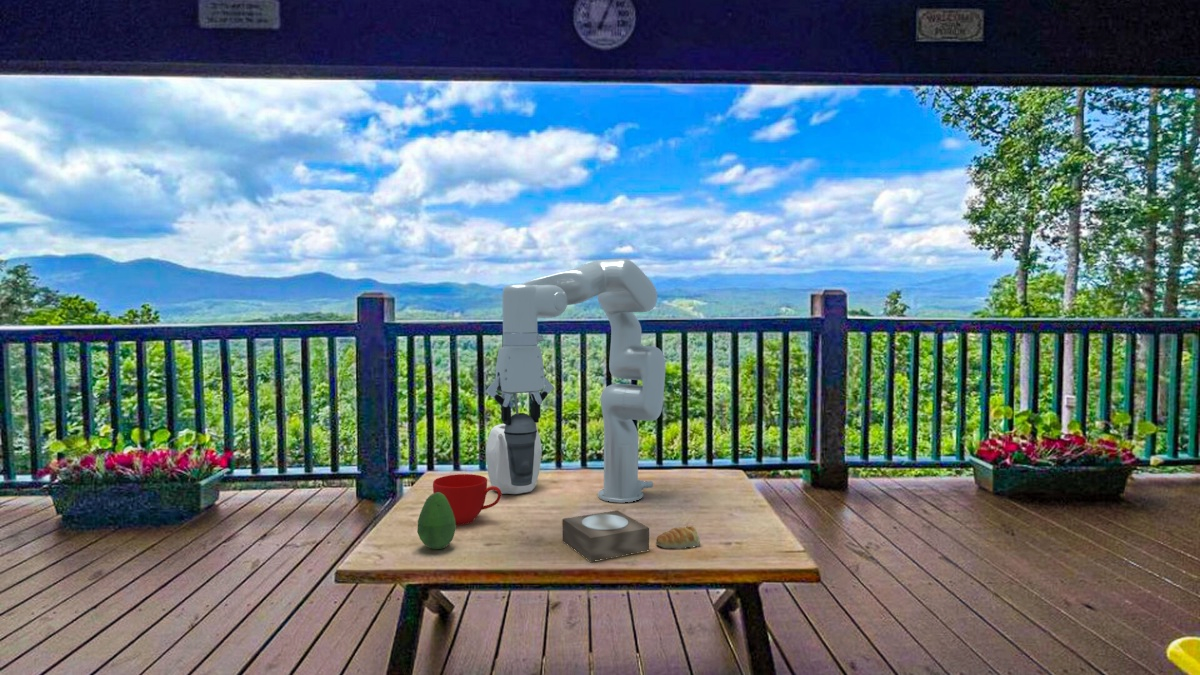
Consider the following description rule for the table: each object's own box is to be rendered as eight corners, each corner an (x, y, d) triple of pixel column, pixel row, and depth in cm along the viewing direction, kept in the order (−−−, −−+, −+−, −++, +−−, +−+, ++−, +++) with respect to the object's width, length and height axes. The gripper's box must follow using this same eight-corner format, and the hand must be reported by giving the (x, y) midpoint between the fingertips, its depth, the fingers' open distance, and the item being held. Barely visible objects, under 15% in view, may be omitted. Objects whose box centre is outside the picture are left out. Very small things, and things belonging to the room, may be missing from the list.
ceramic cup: (491, 532, 146) (491, 489, 145) (423, 527, 149) (423, 485, 148) (509, 515, 158) (509, 476, 158) (446, 511, 161) (446, 472, 161)
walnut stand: (617, 531, 146) (617, 508, 146) (649, 551, 134) (649, 526, 134) (562, 541, 140) (562, 516, 140) (590, 562, 128) (590, 536, 127)
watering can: (471, 503, 169) (471, 433, 168) (500, 479, 195) (500, 418, 195) (527, 506, 167) (527, 435, 166) (549, 481, 193) (549, 419, 193)
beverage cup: (532, 488, 134) (530, 395, 134) (499, 487, 136) (498, 395, 135) (542, 479, 142) (540, 391, 141) (511, 478, 143) (509, 390, 142)
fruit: (444, 539, 141) (443, 486, 140) (462, 548, 135) (462, 493, 135) (411, 547, 135) (410, 492, 135) (428, 558, 130) (428, 500, 129)
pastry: (665, 553, 133) (665, 535, 133) (650, 543, 140) (650, 526, 140) (702, 547, 137) (702, 530, 137) (686, 538, 143) (686, 521, 143)
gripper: (549, 339, 145) (550, 417, 146) (476, 341, 137) (477, 423, 138) (563, 340, 138) (563, 422, 139) (487, 342, 130) (488, 429, 131)
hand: (520, 422), depth 138 cm, fingers closed on beverage cup, 5 cm apart
